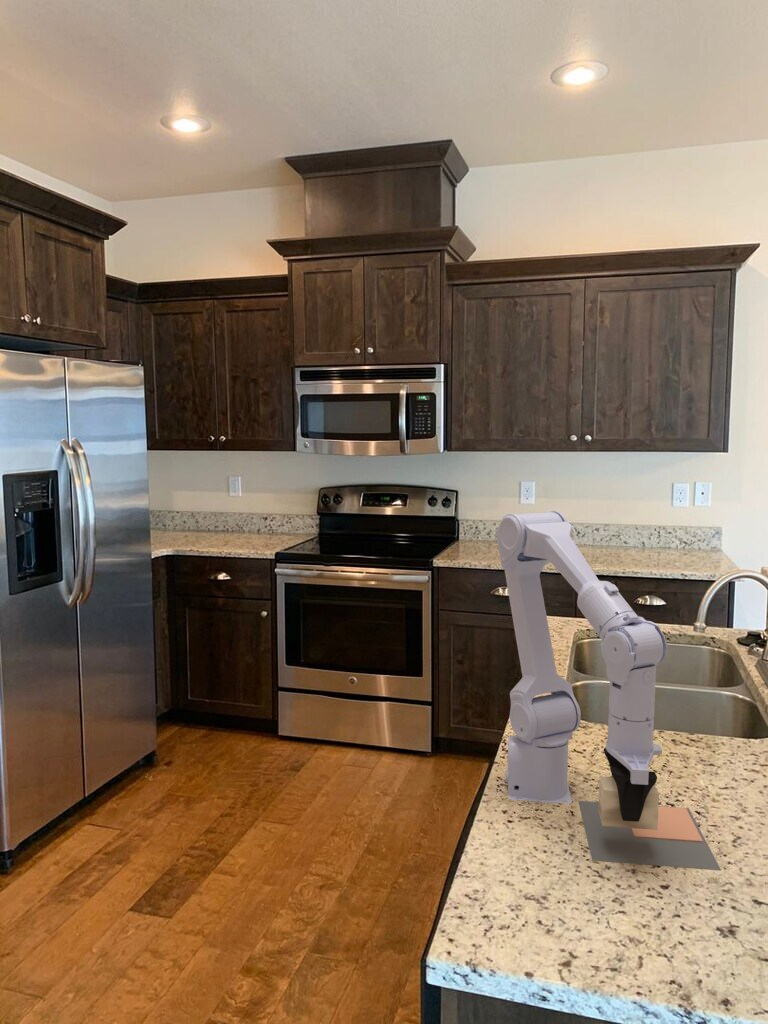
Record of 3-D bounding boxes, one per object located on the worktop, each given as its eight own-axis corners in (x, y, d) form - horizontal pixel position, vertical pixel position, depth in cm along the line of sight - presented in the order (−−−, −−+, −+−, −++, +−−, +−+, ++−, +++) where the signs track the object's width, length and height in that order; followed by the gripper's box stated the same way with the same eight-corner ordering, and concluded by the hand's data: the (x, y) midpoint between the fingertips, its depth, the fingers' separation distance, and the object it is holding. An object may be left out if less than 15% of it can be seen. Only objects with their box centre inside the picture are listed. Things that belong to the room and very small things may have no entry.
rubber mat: (592, 862, 98) (592, 858, 98) (578, 803, 114) (578, 799, 113) (720, 873, 96) (721, 868, 95) (688, 810, 111) (688, 806, 111)
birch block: (602, 826, 99) (603, 790, 99) (598, 810, 103) (599, 776, 103) (657, 830, 98) (659, 793, 98) (651, 814, 102) (652, 779, 102)
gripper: (675, 737, 91) (671, 842, 93) (651, 695, 106) (647, 787, 107) (616, 734, 92) (612, 838, 94) (599, 693, 107) (596, 784, 108)
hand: (627, 811), depth 100 cm, fingers closed on birch block, 4 cm apart
